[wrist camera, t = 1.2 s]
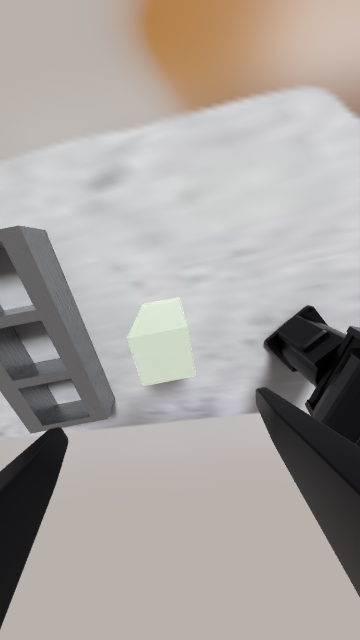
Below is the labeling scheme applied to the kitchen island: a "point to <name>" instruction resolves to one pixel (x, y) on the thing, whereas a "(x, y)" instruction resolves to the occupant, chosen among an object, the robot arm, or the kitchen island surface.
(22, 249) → the slotted holder
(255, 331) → the kitchen island surface
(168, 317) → the peg
